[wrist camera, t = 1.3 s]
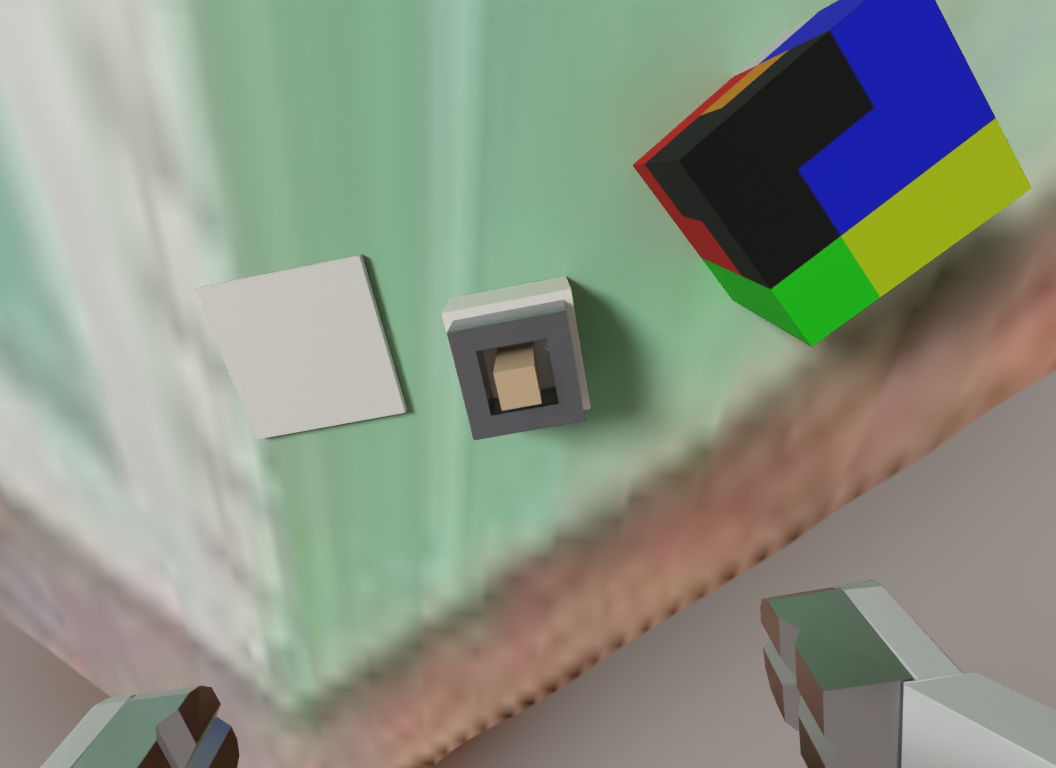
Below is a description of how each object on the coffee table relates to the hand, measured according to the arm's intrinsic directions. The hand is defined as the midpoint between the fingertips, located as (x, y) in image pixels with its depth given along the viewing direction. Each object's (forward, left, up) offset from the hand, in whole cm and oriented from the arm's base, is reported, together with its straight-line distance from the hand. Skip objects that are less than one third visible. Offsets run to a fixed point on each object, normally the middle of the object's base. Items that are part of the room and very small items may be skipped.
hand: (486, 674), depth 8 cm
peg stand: (+3, 0, -27) cm, 27 cm away
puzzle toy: (-4, +15, -27) cm, 31 cm away
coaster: (+1, -13, -27) cm, 30 cm away
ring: (+3, 0, -23) cm, 23 cm away
